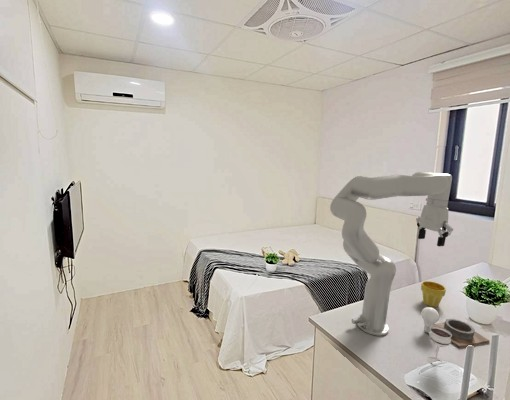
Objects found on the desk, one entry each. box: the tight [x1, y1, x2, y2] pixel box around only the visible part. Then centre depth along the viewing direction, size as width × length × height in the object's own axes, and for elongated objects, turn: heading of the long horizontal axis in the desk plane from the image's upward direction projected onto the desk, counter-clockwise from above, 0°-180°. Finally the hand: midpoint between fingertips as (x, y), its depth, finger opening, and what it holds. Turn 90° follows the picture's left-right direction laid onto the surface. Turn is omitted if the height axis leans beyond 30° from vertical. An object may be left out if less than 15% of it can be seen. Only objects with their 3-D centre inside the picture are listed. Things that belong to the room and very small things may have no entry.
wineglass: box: [426, 326, 452, 364], centre depth 104 cm, size 7×7×12 cm
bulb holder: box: [433, 318, 491, 349], centre depth 122 cm, size 16×14×4 cm
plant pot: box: [420, 280, 447, 308], centre depth 146 cm, size 10×10×10 cm
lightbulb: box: [420, 306, 440, 334], centre depth 122 cm, size 6×6×11 cm
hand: (430, 242), depth 124 cm, fingers open, 9 cm apart
